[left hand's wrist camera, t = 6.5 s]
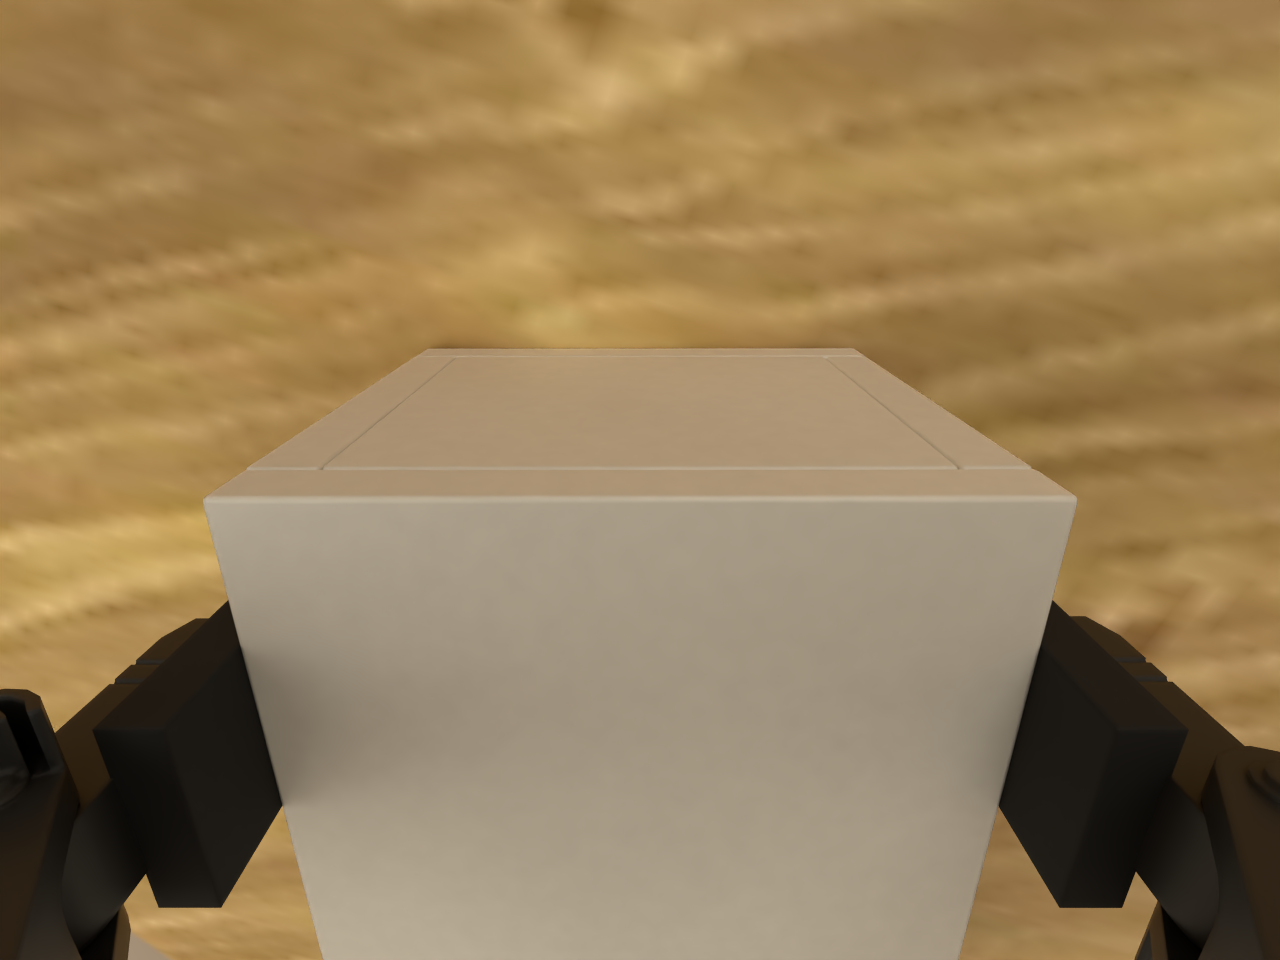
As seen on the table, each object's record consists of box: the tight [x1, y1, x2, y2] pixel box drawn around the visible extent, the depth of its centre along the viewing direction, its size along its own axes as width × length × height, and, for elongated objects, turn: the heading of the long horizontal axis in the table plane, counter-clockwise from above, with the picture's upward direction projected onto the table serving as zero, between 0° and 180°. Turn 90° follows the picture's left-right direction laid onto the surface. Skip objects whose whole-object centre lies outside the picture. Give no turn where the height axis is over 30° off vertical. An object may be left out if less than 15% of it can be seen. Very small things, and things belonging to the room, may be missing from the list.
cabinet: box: [203, 348, 1077, 960], centre depth 16 cm, size 20×10×9 cm, turn 0°
